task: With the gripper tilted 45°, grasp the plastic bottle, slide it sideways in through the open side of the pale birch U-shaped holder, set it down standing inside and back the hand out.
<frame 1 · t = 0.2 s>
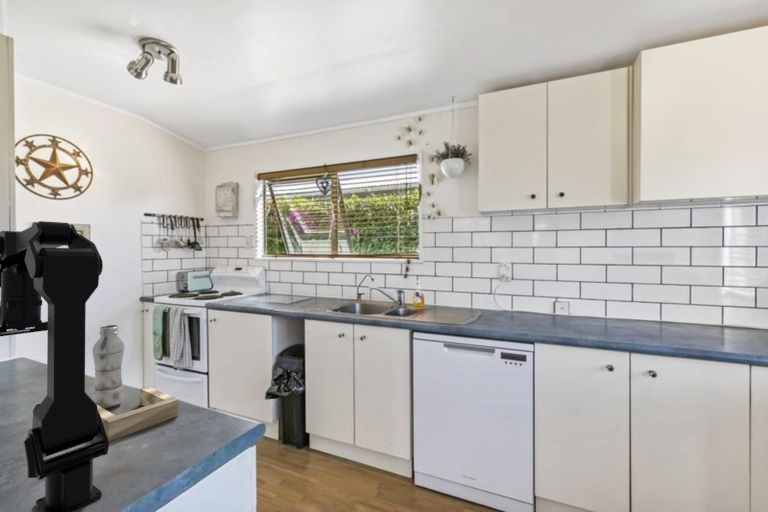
hand: (20, 371, 72), 14 cm above the counter, tool pointing down, fingers open, 9 cm apart
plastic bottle: (108, 407, 90), on the counter
holder: (131, 419, 84), on the counter
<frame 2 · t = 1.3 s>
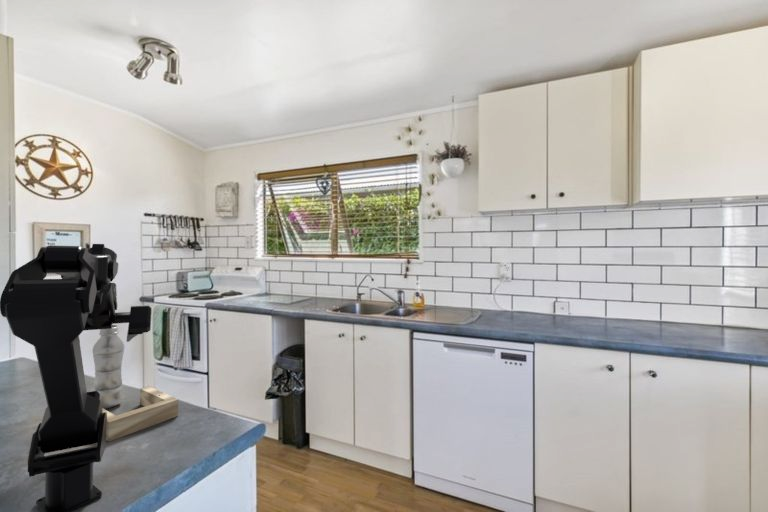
hand: (104, 342, 84), 18 cm above the counter, tool tilted 45°, fingers open, 9 cm apart
nothing on the counter moved.
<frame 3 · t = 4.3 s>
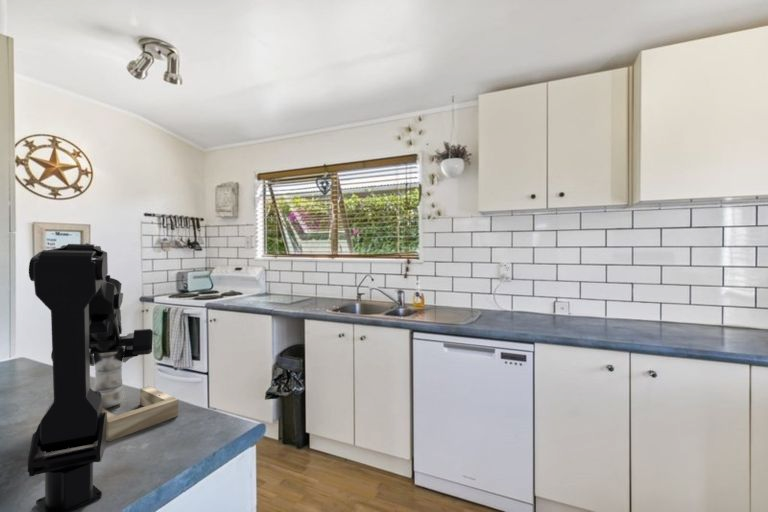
hand: (109, 362, 91), 11 cm above the counter, tool tilted 45°, fingers closed on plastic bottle, 6 cm apart
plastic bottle: (108, 407, 90), on the counter, touching gripper
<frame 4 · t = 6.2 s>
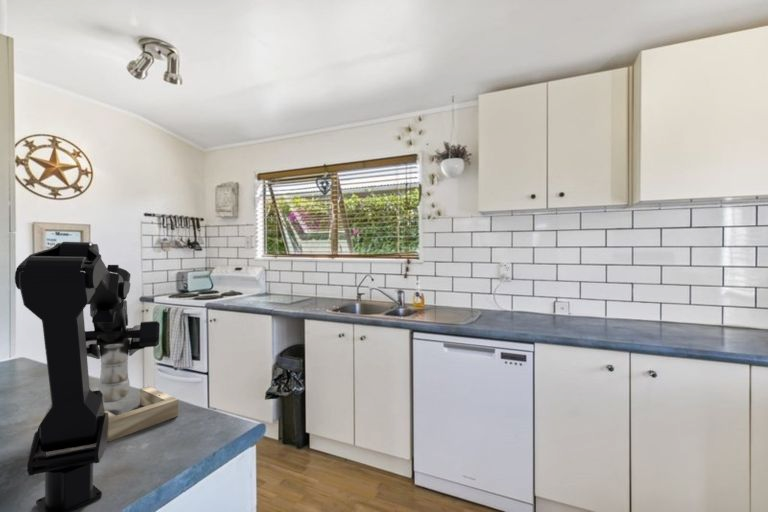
hand: (115, 355, 89), 13 cm above the counter, tool tilted 45°, fingers closed on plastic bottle, 6 cm apart
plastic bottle: (113, 401, 88), point 2 cm above the counter, touching gripper
when the fingers open (12 cm above the counter, at t = 8.5 s): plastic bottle drops 1 cm, on the counter.
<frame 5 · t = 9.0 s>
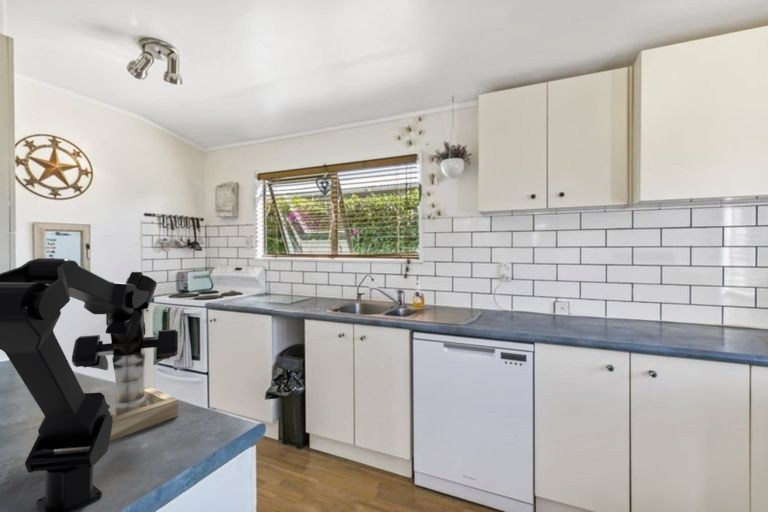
hand: (131, 365, 85), 12 cm above the counter, tool tilted 45°, fingers open, 9 cm apart
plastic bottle: (130, 419, 84), on the counter
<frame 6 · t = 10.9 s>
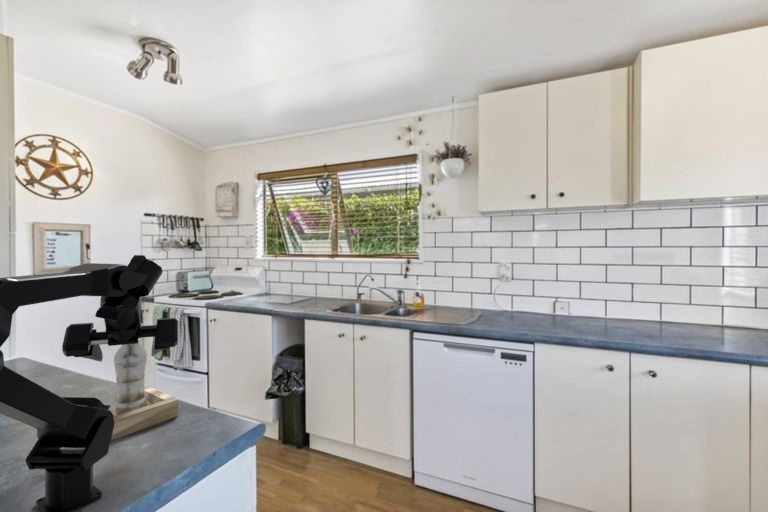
hand: (127, 356, 79), 16 cm above the counter, tool tilted 45°, fingers open, 9 cm apart
nothing on the counter moved.
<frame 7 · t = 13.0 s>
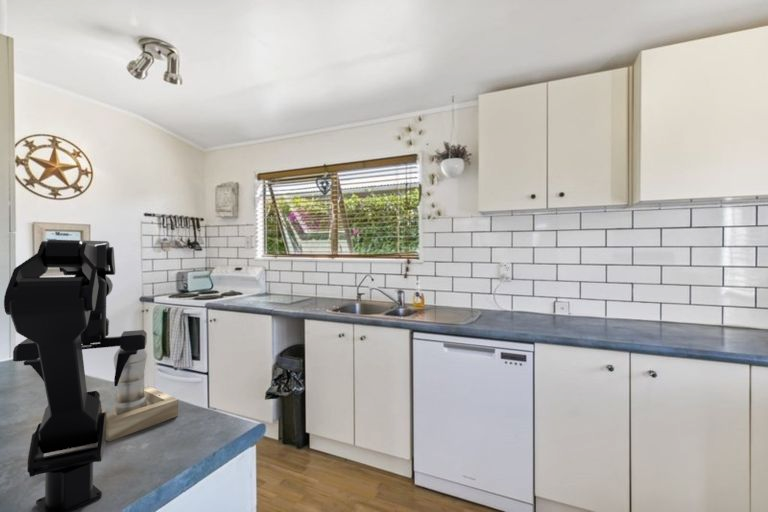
hand: (85, 389, 68), 13 cm above the counter, tool pointing down, fingers open, 9 cm apart
nothing on the counter moved.
at the end: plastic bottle 0.1 cm off-centre on the holder, point 0.0 cm above the holder's base; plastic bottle tilted 0°; the gripper is holding nothing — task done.
